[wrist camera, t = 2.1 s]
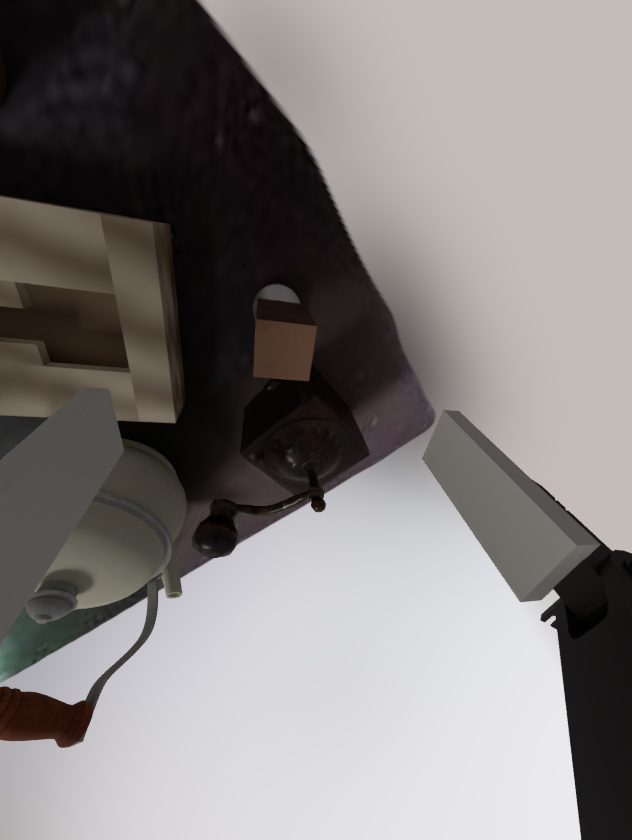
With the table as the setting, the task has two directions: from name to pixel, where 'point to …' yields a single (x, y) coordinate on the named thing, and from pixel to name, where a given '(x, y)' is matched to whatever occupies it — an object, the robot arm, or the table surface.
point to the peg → (282, 334)
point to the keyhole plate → (87, 311)
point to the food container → (2, 78)
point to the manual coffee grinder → (288, 453)
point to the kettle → (104, 579)
